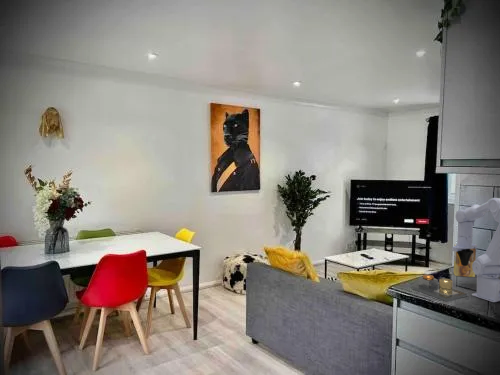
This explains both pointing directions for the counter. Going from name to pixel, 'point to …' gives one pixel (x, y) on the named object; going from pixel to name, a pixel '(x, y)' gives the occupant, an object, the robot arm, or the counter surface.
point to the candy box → (464, 270)
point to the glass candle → (445, 286)
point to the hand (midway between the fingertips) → (464, 265)
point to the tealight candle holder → (428, 277)
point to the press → (436, 290)
